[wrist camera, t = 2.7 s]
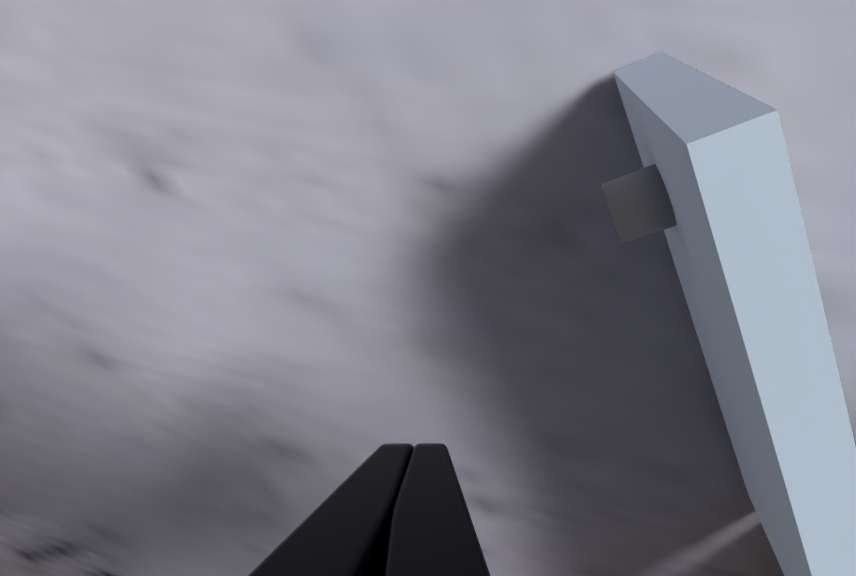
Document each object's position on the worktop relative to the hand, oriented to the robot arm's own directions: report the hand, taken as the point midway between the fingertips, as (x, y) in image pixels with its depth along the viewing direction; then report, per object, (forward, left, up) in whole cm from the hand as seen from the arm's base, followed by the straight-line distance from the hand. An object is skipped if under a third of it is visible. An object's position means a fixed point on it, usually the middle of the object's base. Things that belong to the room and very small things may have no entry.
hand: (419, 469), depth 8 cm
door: (-2, +5, -8) cm, 10 cm away
